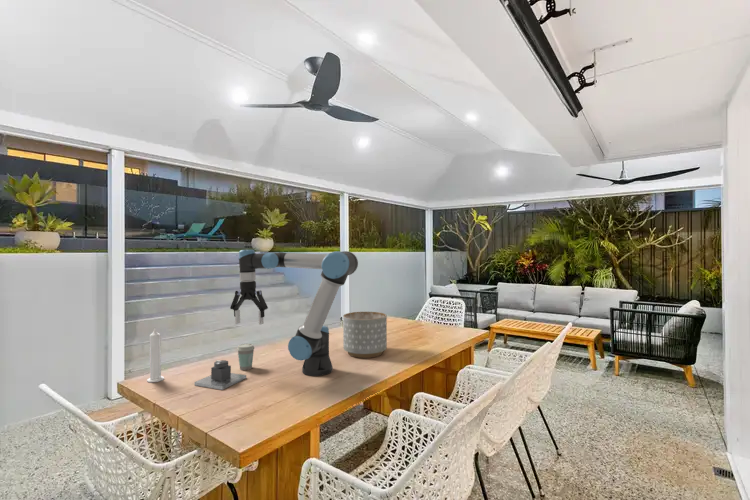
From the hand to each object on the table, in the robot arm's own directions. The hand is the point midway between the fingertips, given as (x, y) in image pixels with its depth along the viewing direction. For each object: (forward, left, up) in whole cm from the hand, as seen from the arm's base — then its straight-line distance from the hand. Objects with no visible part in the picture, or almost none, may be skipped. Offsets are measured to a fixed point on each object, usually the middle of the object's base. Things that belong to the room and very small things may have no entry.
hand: (249, 323), depth 194 cm
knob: (+6, +14, -23) cm, 28 cm away
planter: (-39, -54, -25) cm, 72 cm away
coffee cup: (+8, -6, -25) cm, 27 cm away
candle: (+37, +23, -25) cm, 50 cm away
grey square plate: (+6, +14, -25) cm, 29 cm away
